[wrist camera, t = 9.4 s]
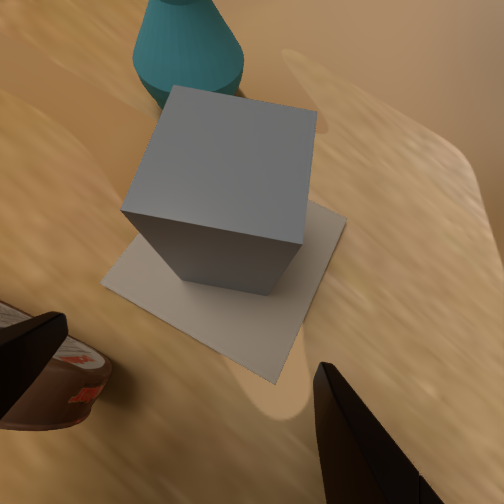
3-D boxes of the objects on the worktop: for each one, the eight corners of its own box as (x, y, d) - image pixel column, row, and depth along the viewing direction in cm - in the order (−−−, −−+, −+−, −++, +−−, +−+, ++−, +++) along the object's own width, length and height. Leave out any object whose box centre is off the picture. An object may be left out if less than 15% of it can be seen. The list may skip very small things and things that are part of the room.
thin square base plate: (273, 383, 16) (287, 398, 12) (105, 285, 18) (62, 266, 14) (343, 222, 21) (372, 190, 17) (205, 156, 23) (197, 110, 18)
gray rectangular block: (267, 296, 18) (302, 244, 8) (180, 279, 18) (120, 209, 8) (279, 219, 20) (317, 111, 11) (202, 205, 20) (173, 84, 11)
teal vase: (259, 120, 25) (290, -169, 11) (176, 155, 23) (79, -151, 9) (215, 66, 27) (193, -228, 13) (136, 92, 25) (10, -226, 11)
